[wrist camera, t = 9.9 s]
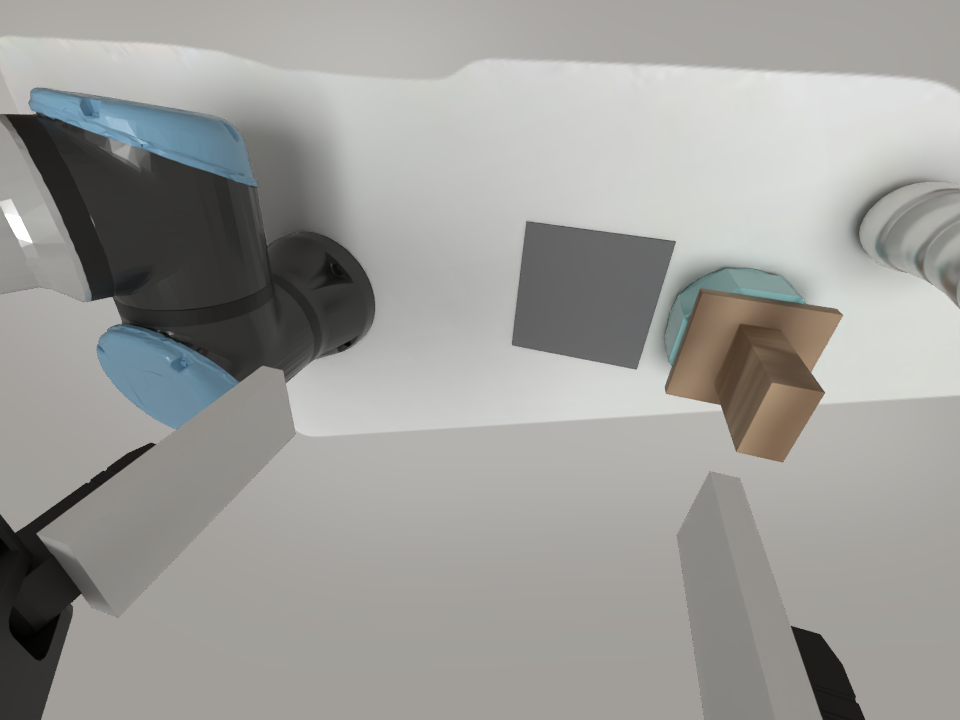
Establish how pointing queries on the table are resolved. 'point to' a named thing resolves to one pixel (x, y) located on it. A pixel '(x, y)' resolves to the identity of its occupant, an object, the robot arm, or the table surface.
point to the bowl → (725, 281)
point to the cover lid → (754, 366)
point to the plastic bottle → (918, 233)
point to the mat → (588, 292)
